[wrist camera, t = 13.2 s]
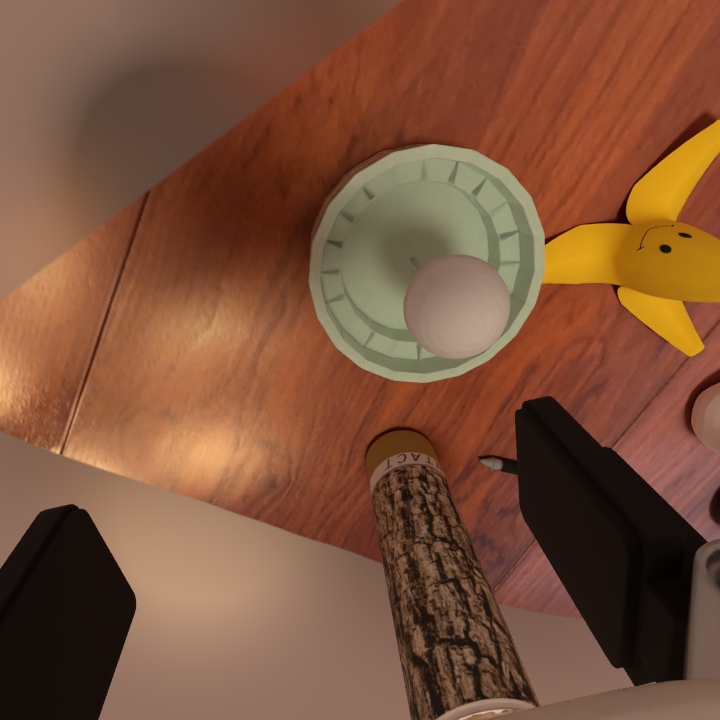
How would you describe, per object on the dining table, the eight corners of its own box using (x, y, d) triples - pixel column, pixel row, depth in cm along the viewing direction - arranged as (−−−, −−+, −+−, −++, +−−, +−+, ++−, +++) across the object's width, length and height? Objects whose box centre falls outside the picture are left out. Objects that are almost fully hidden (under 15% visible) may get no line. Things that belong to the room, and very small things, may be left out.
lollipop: (359, 263, 38) (389, 331, 24) (410, 204, 36) (472, 241, 23) (415, 310, 40) (471, 397, 26) (465, 256, 38) (552, 318, 25)
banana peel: (496, 263, 39) (615, 338, 24) (708, 107, 36) (1000, 81, 21) (581, 397, 46) (718, 523, 31) (768, 275, 42) (1025, 348, 27)
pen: (609, 491, 51) (617, 499, 50) (472, 461, 48) (476, 469, 47) (616, 481, 51) (623, 489, 50) (477, 450, 47) (482, 458, 46)
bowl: (286, 169, 35) (282, 174, 30) (506, 124, 35) (542, 121, 30) (333, 368, 42) (337, 402, 37) (516, 329, 42) (547, 357, 37)
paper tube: (420, 488, 49) (519, 789, 26) (356, 478, 47) (401, 786, 25) (442, 432, 46) (573, 713, 23) (375, 420, 45) (445, 705, 22)
